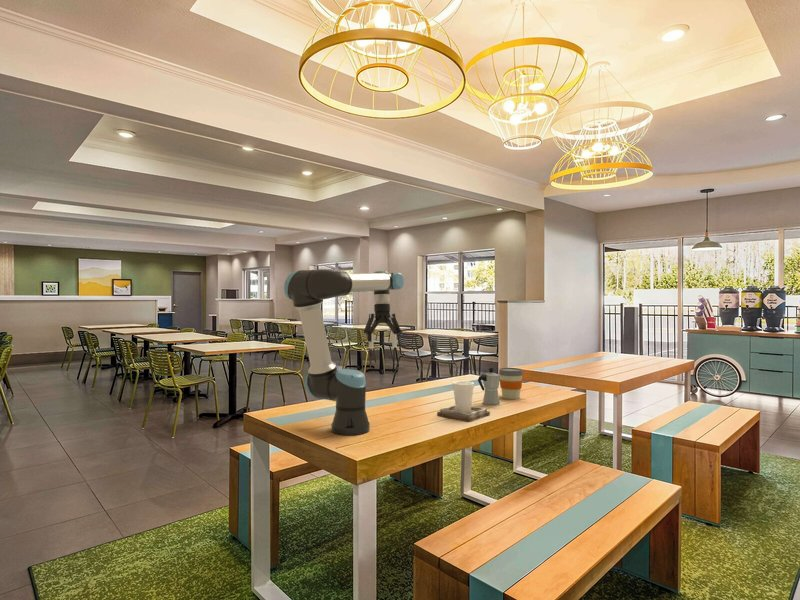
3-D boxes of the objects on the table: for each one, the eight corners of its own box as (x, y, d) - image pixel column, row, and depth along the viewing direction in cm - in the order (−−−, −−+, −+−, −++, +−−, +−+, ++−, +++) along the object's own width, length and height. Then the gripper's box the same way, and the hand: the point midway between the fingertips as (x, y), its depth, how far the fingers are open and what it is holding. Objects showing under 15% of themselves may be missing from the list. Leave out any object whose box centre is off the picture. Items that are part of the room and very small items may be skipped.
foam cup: (449, 412, 204) (449, 383, 204) (456, 408, 212) (456, 380, 212) (470, 415, 199) (470, 385, 199) (476, 410, 208) (476, 382, 208)
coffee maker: (494, 400, 237) (494, 365, 238) (506, 403, 230) (506, 367, 230) (472, 403, 230) (472, 367, 230) (484, 407, 222) (484, 370, 222)
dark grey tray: (469, 421, 194) (469, 415, 194) (437, 415, 205) (437, 409, 205) (489, 414, 206) (490, 408, 206) (458, 409, 218) (458, 403, 218)
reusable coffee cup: (494, 396, 246) (494, 369, 247) (507, 393, 255) (507, 367, 255) (514, 400, 237) (514, 371, 237) (527, 397, 246) (527, 369, 246)
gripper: (398, 304, 229) (399, 346, 227) (355, 303, 214) (356, 349, 212) (407, 303, 223) (408, 347, 222) (364, 302, 208) (365, 349, 206)
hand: (383, 348), depth 217 cm, fingers open, 13 cm apart
